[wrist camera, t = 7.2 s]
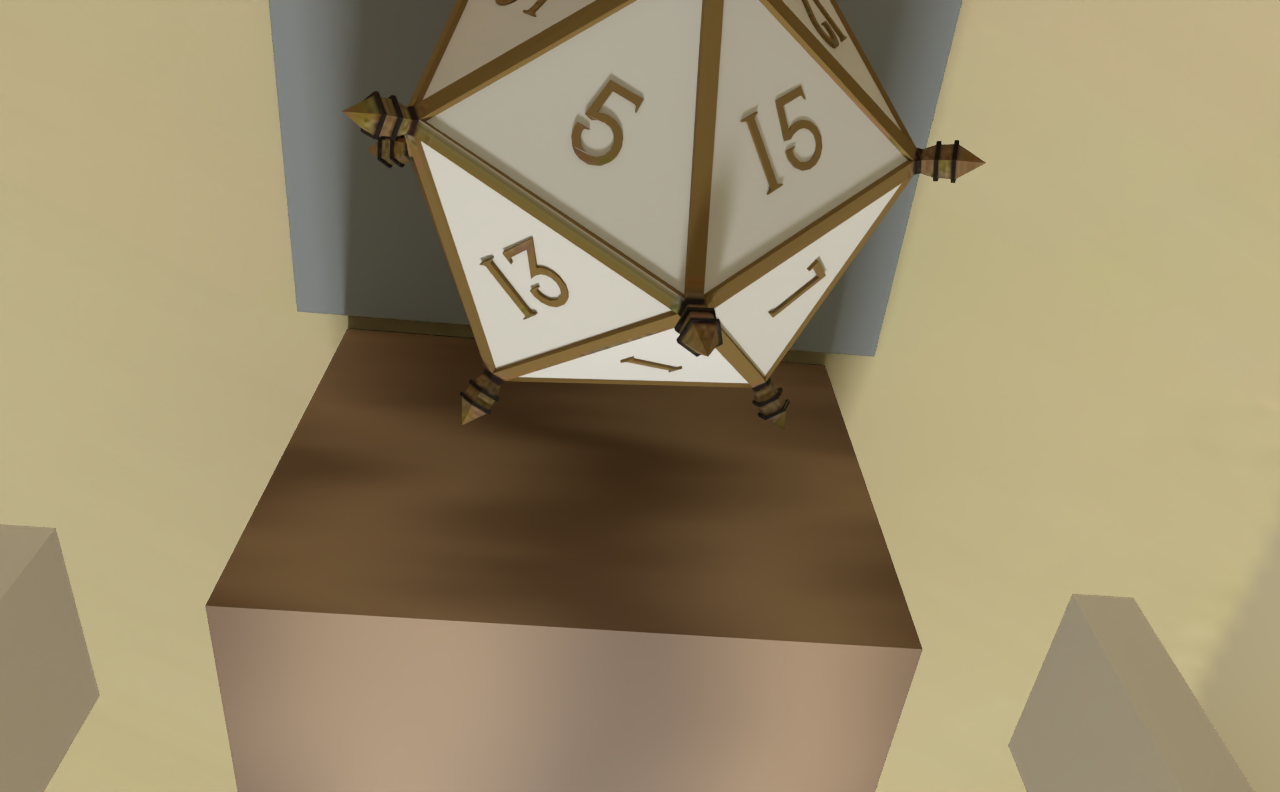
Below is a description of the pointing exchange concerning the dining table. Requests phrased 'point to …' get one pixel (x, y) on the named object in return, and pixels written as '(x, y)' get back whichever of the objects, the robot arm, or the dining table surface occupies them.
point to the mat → (393, 201)
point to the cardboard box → (559, 590)
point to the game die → (648, 182)
